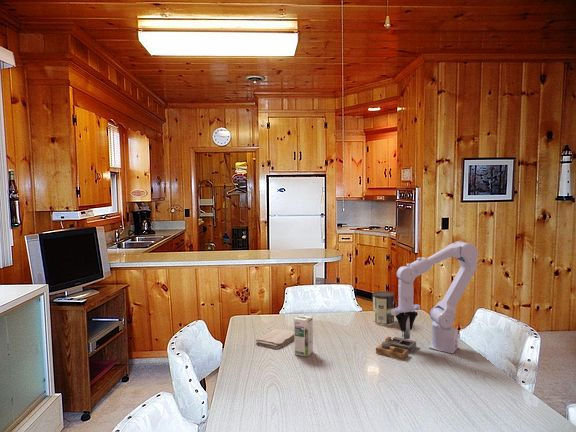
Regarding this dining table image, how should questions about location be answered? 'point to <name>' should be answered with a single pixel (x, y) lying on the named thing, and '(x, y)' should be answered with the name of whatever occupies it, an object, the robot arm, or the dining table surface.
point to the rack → (391, 351)
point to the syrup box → (303, 335)
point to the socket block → (403, 344)
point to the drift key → (390, 340)
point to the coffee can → (383, 308)
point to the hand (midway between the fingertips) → (406, 330)
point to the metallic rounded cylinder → (407, 329)
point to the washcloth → (276, 338)
